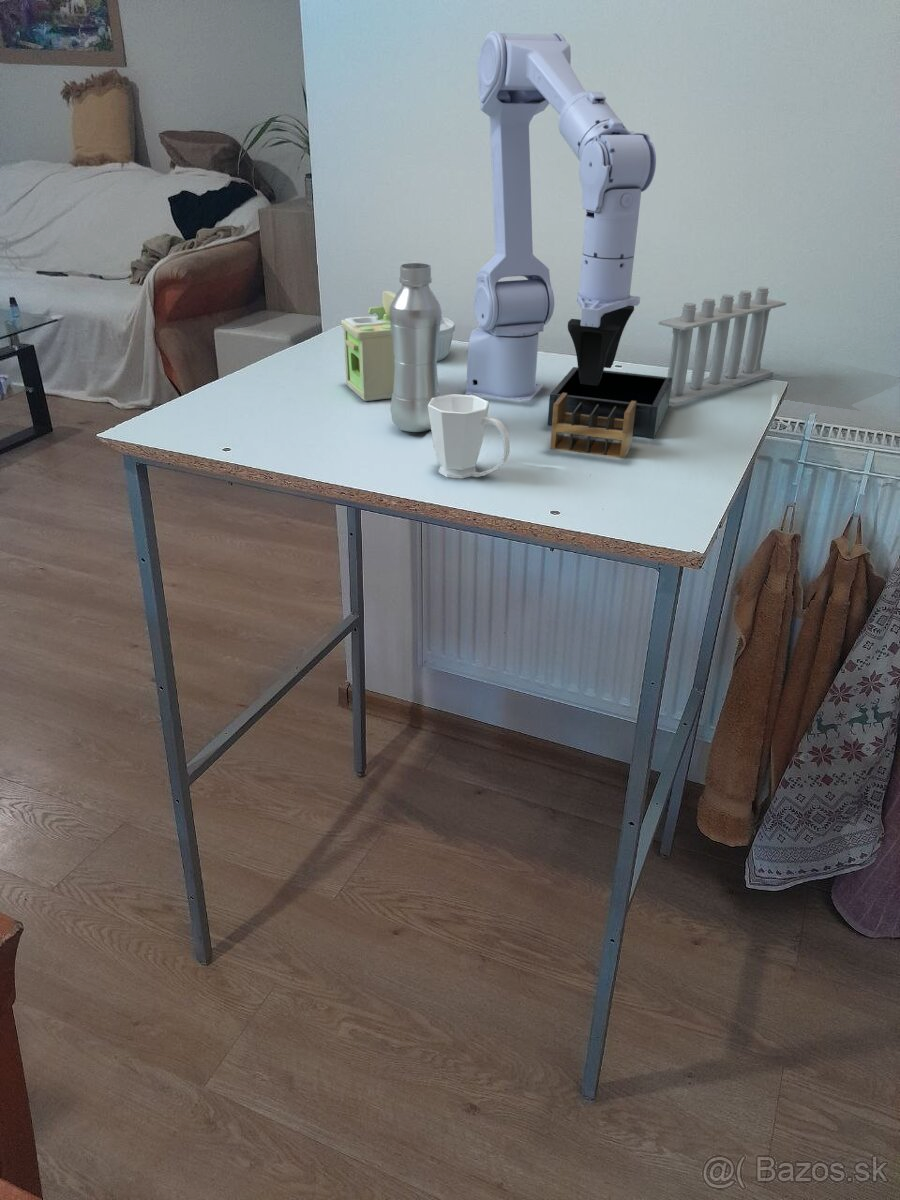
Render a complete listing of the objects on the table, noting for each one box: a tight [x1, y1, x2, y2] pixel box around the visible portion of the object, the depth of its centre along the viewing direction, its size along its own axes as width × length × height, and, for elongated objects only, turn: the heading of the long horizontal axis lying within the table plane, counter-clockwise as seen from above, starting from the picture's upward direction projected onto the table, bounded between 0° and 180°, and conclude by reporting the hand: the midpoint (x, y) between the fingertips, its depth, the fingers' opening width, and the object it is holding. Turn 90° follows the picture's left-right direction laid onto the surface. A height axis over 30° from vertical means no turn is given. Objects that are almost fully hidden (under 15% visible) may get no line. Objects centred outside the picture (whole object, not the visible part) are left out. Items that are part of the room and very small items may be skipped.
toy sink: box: [340, 290, 397, 402], centre depth 131 cm, size 8×7×13 cm
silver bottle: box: [389, 262, 443, 433], centre depth 115 cm, size 6×7×20 cm
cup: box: [428, 393, 511, 480], centre depth 105 cm, size 7×10×8 cm
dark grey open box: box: [547, 366, 673, 440], centre depth 124 cm, size 14×14×5 cm
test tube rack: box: [658, 286, 787, 406], centre depth 135 cm, size 25×4×13 cm, turn 132°
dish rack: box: [549, 393, 636, 459], centre depth 113 cm, size 9×5×6 cm, turn 71°
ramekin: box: [437, 316, 456, 362], centre depth 149 cm, size 11×11×5 cm
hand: (596, 375), depth 111 cm, fingers open, 7 cm apart
